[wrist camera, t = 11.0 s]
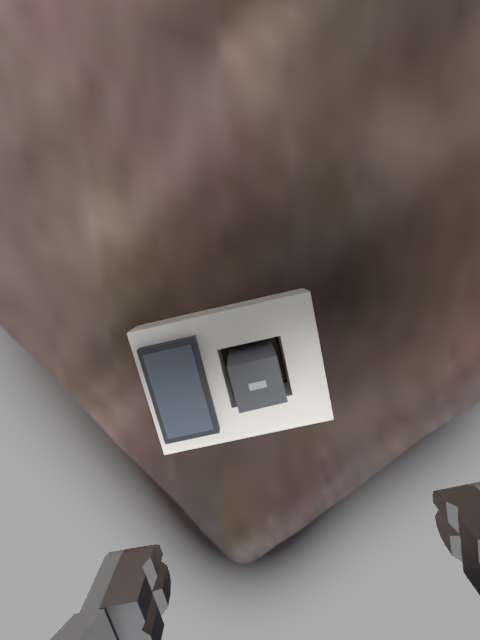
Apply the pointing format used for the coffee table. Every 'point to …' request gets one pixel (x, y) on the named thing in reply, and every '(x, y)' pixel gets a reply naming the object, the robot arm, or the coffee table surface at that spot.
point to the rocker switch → (255, 375)
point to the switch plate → (211, 375)
